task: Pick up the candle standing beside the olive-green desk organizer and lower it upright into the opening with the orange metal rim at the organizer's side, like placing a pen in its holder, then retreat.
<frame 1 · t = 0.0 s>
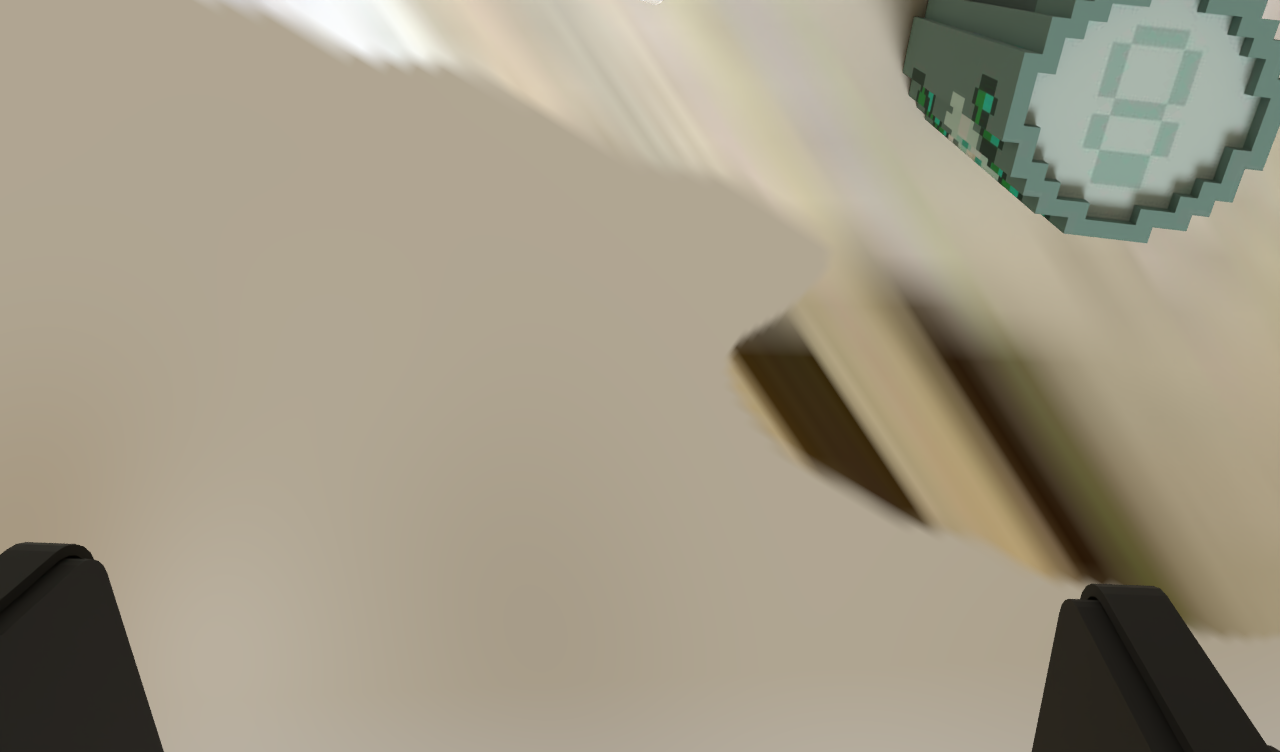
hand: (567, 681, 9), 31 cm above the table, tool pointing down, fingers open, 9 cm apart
can: (987, 53, 35), on the table
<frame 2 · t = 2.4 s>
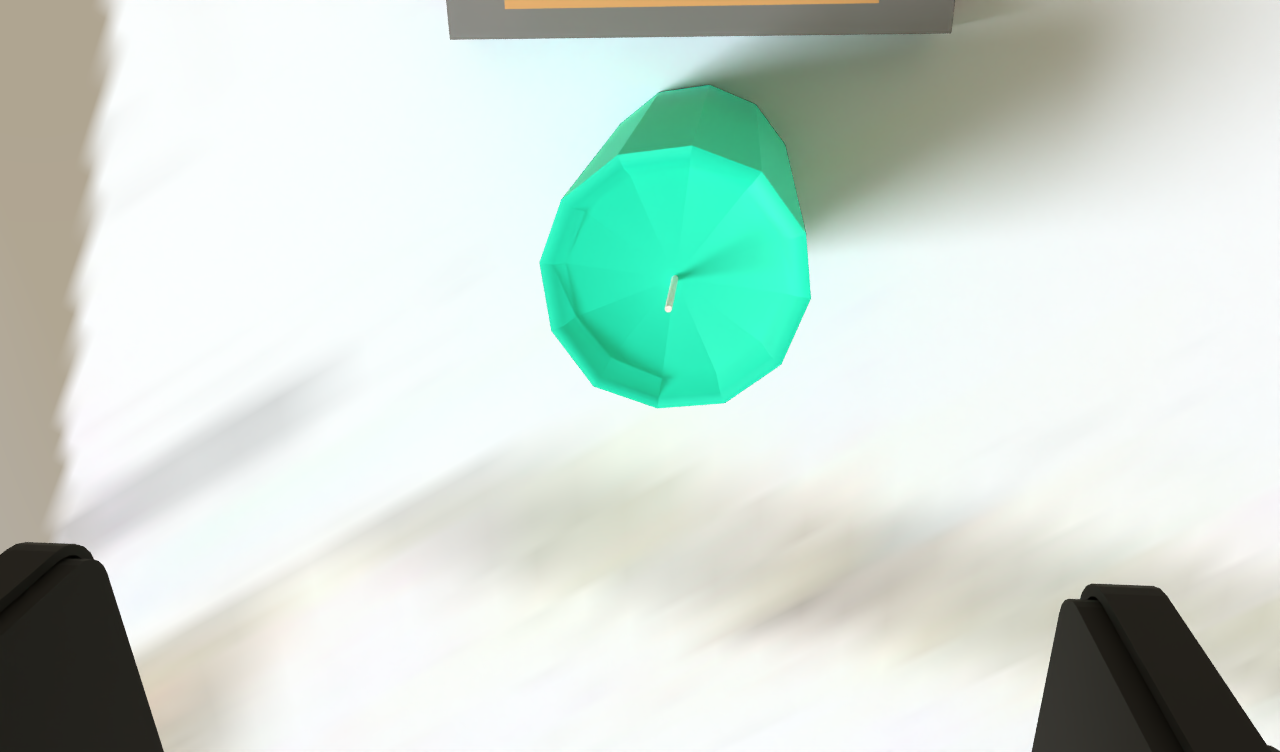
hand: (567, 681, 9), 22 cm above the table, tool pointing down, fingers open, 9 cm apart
candle: (696, 180, 30), on the table
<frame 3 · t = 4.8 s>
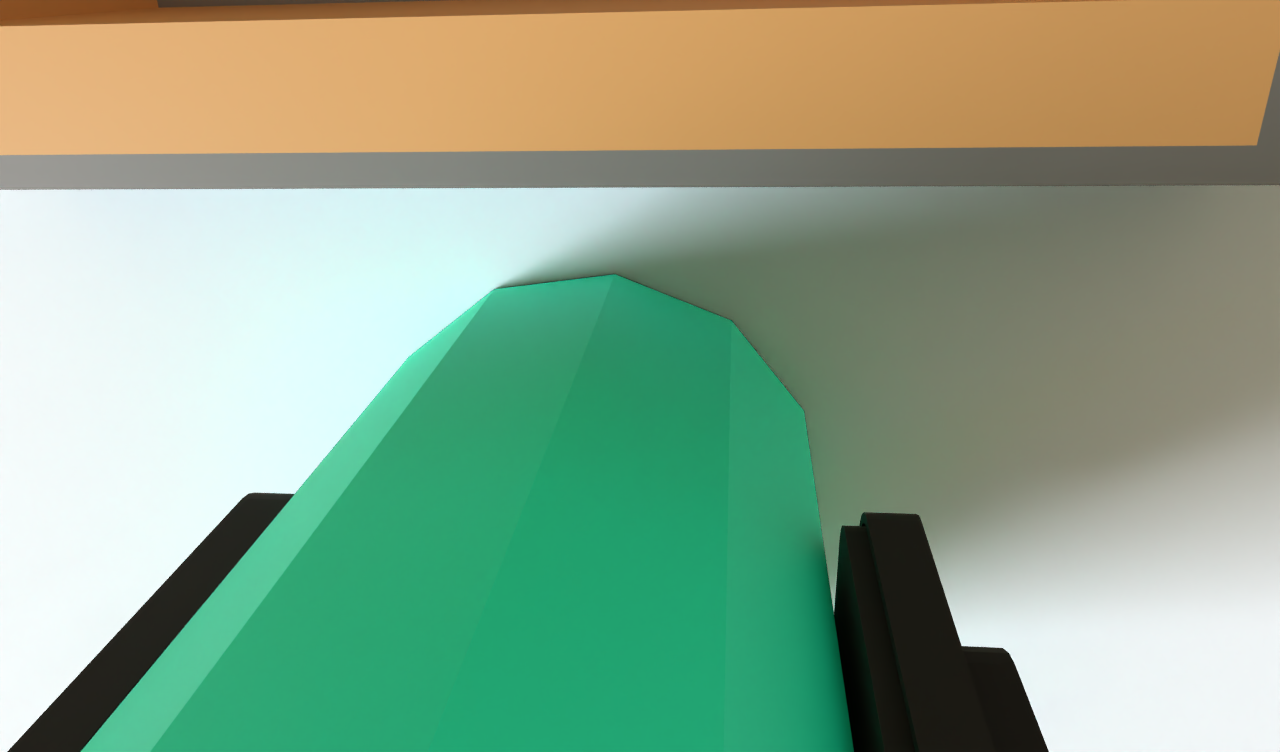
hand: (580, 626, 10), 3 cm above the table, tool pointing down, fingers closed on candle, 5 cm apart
candle: (596, 475, 13), on the table, touching gripper
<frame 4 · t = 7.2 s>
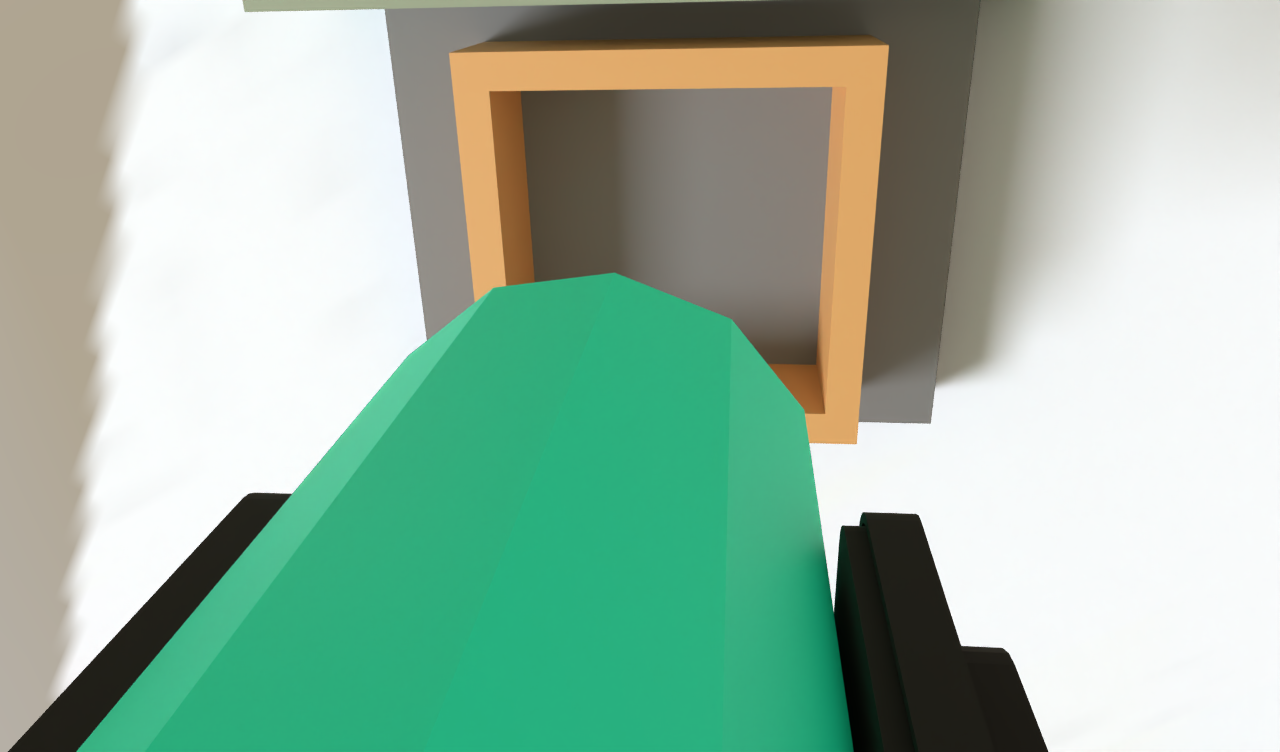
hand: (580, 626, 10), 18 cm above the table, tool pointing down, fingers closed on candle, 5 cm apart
desk organizer: (679, 208, 26), on the table
candle: (596, 474, 13), point 14 cm above the table, touching gripper
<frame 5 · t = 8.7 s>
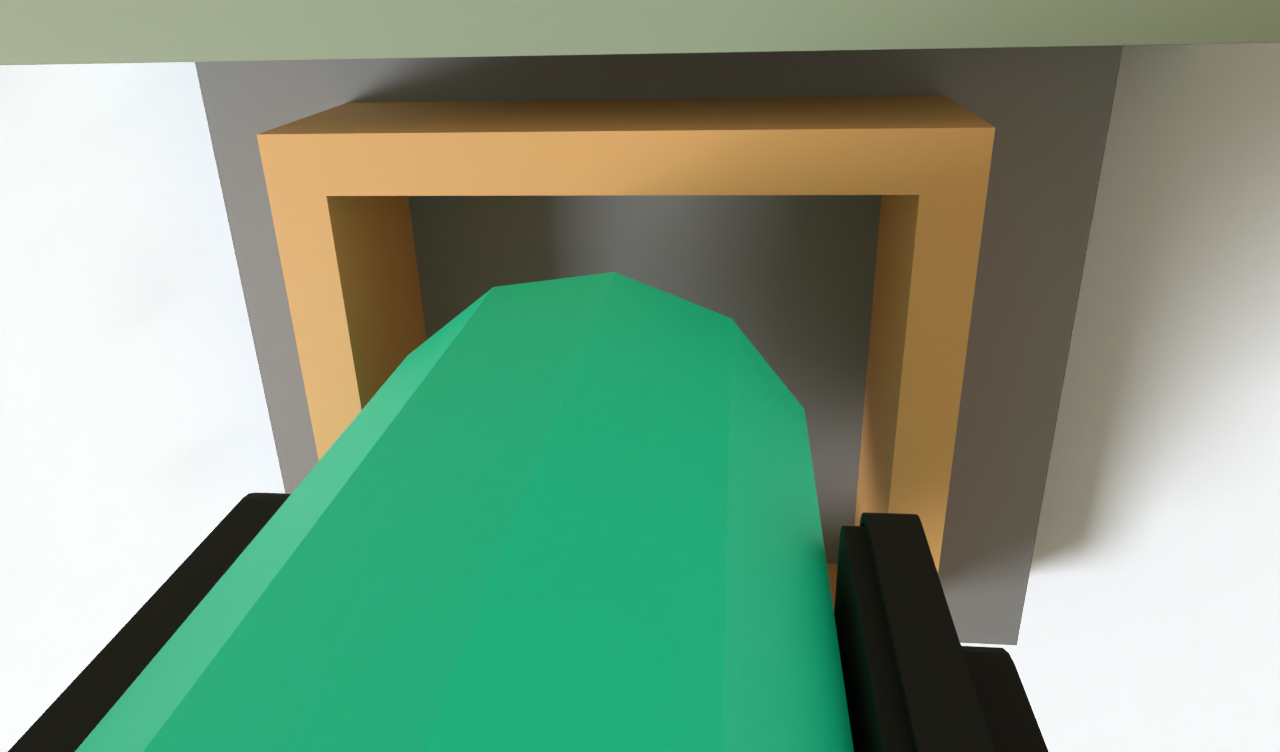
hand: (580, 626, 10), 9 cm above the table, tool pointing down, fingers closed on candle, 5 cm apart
desk organizer: (653, 331, 18), on the table
candle: (596, 473, 13), point 6 cm above the table, touching gripper
when the fingers open (7 cm above the table, at t = 9.9 s): candle drops 2 cm, resting on desk organizer.
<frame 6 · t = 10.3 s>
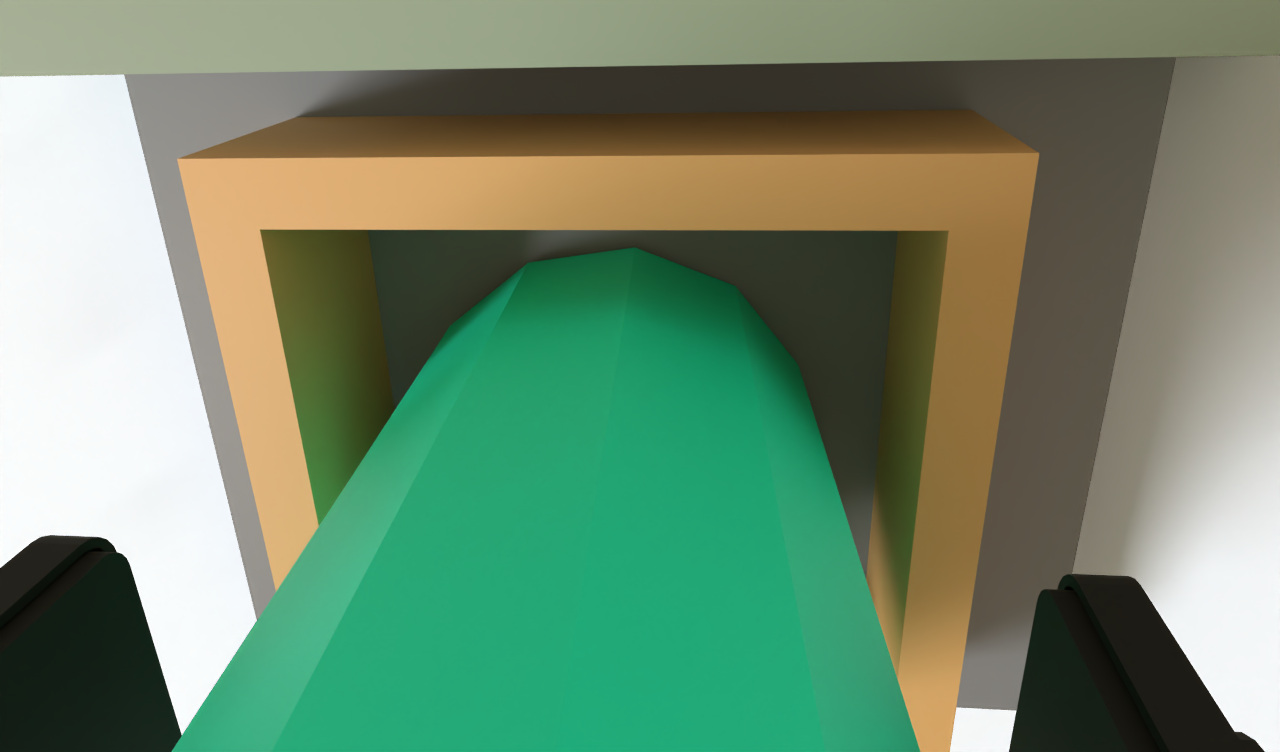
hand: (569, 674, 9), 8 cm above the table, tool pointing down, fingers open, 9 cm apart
desk organizer: (643, 366, 16), on the table
candle: (615, 428, 14), point 2 cm above the table, touching desk organizer
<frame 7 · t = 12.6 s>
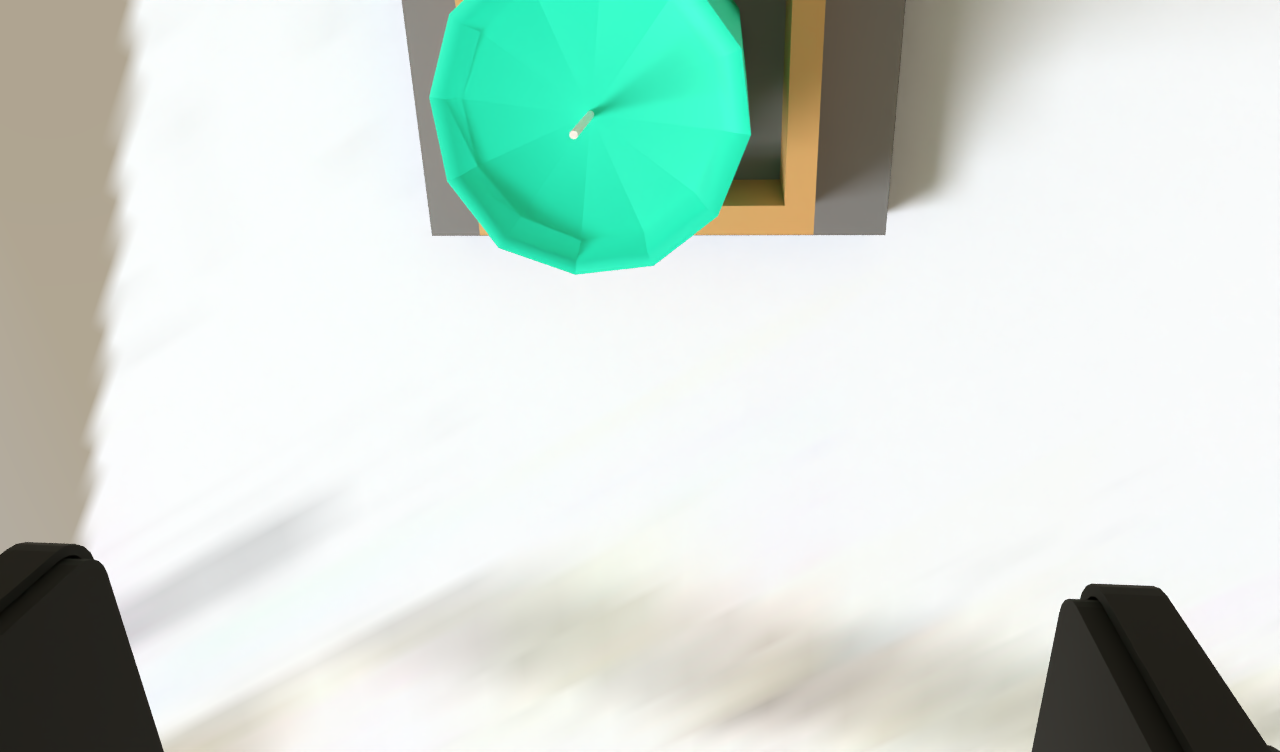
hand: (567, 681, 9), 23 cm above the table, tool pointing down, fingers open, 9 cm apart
desk organizer: (654, 39, 28), on the table
candle: (641, 53, 26), point 2 cm above the table, touching desk organizer
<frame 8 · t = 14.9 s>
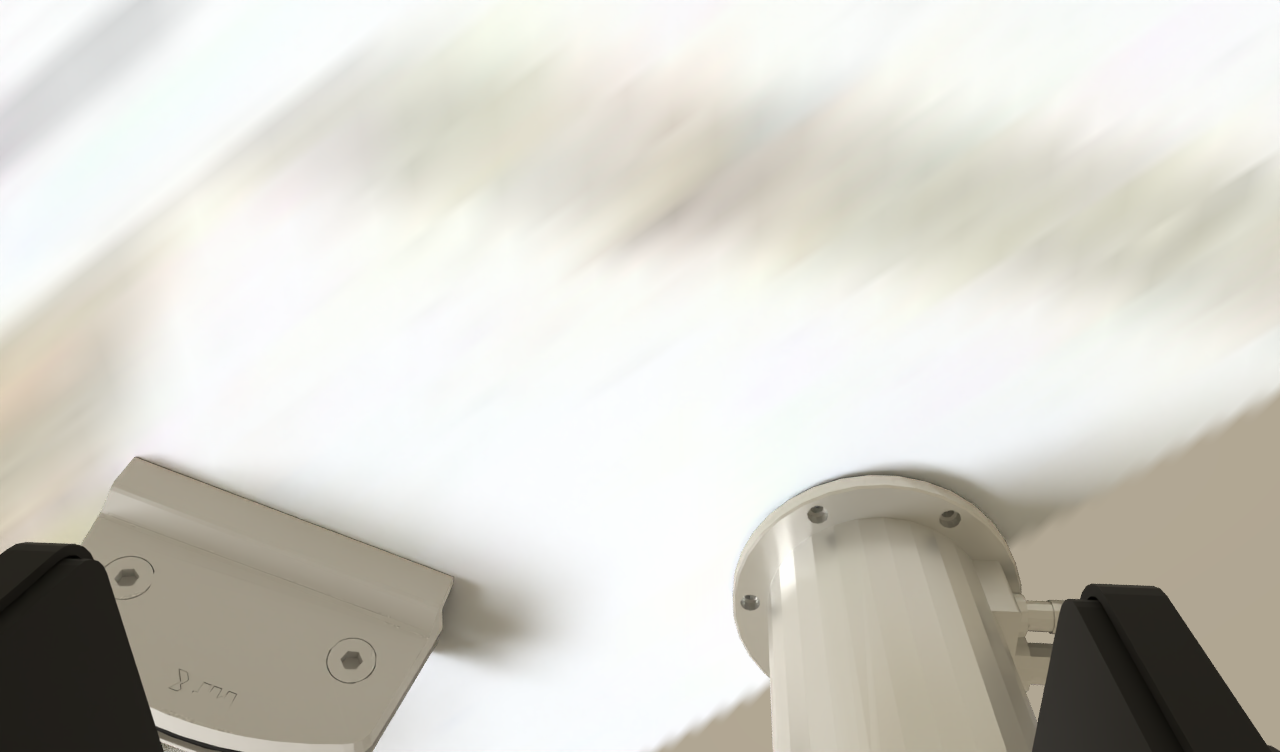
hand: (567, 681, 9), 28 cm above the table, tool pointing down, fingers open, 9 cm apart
hinge: (283, 573, 46), on the table
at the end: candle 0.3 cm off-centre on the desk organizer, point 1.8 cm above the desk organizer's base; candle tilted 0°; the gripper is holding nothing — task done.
